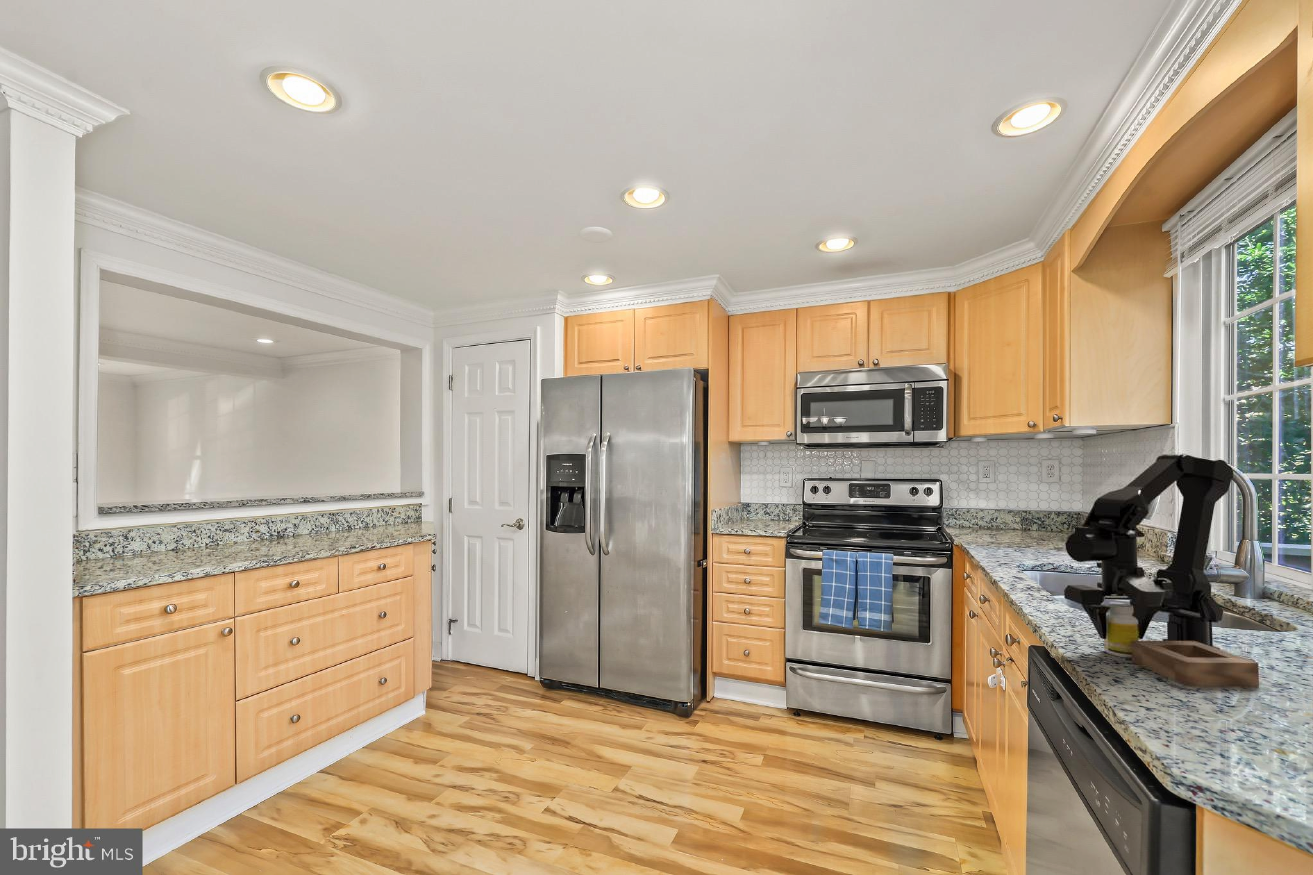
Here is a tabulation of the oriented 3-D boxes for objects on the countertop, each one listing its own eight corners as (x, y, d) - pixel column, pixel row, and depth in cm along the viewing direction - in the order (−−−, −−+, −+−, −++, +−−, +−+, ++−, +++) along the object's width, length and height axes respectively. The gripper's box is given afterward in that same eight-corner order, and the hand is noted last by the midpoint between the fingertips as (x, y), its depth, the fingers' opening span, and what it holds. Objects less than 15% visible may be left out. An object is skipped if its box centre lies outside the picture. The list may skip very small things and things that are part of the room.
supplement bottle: (1145, 659, 113) (1144, 608, 114) (1113, 657, 114) (1112, 607, 115) (1129, 650, 119) (1127, 601, 119) (1098, 648, 120) (1097, 600, 120)
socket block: (1195, 662, 112) (1194, 640, 112) (1259, 686, 100) (1258, 662, 100) (1132, 661, 112) (1131, 640, 112) (1187, 686, 100) (1187, 662, 100)
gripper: (1101, 567, 109) (1104, 651, 109) (1203, 567, 109) (1206, 652, 108) (1061, 557, 120) (1063, 633, 120) (1153, 557, 120) (1155, 634, 119)
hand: (1121, 638), depth 117 cm, fingers open, 7 cm apart
